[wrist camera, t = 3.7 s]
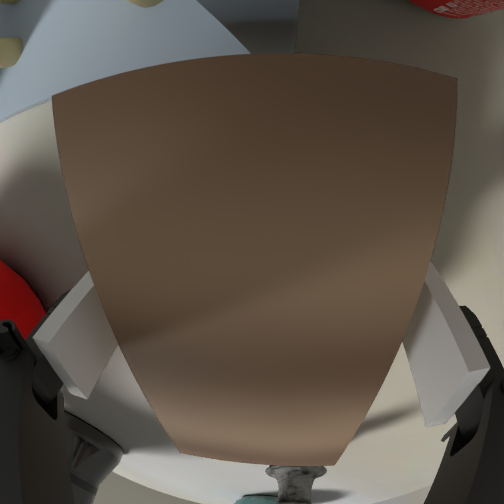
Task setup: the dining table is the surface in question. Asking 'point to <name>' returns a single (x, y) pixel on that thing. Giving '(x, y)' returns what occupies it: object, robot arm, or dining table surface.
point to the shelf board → (259, 237)
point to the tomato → (18, 301)
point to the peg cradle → (125, 39)
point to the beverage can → (459, 7)
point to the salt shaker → (295, 482)
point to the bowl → (257, 500)
